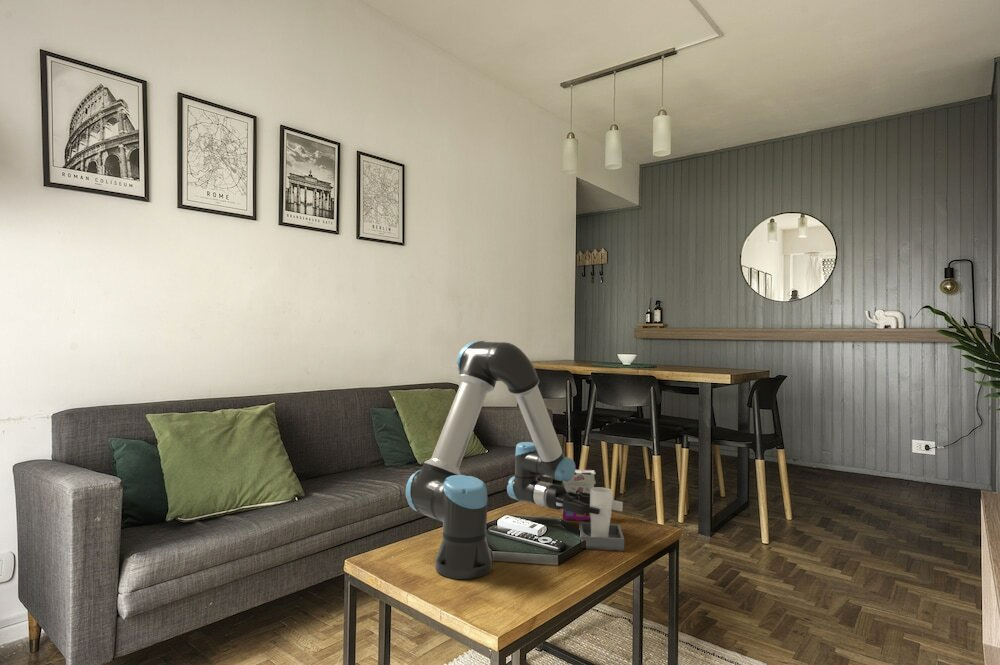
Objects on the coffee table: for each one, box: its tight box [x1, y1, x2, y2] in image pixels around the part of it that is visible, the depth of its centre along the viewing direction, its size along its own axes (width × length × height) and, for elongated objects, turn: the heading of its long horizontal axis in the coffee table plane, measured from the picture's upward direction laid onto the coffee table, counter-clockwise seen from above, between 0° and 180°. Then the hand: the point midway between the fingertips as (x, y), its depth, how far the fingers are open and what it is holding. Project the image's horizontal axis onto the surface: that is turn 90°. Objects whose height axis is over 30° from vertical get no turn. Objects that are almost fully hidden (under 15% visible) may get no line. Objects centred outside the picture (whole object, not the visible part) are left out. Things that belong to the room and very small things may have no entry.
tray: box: [578, 521, 625, 552], centre depth 170 cm, size 13×13×4 cm
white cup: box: [590, 486, 613, 537], centre depth 170 cm, size 7×7×15 cm
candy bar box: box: [562, 469, 597, 522], centre depth 192 cm, size 11×5×16 cm, turn 84°
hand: (616, 509), depth 168 cm, fingers open, 7 cm apart
